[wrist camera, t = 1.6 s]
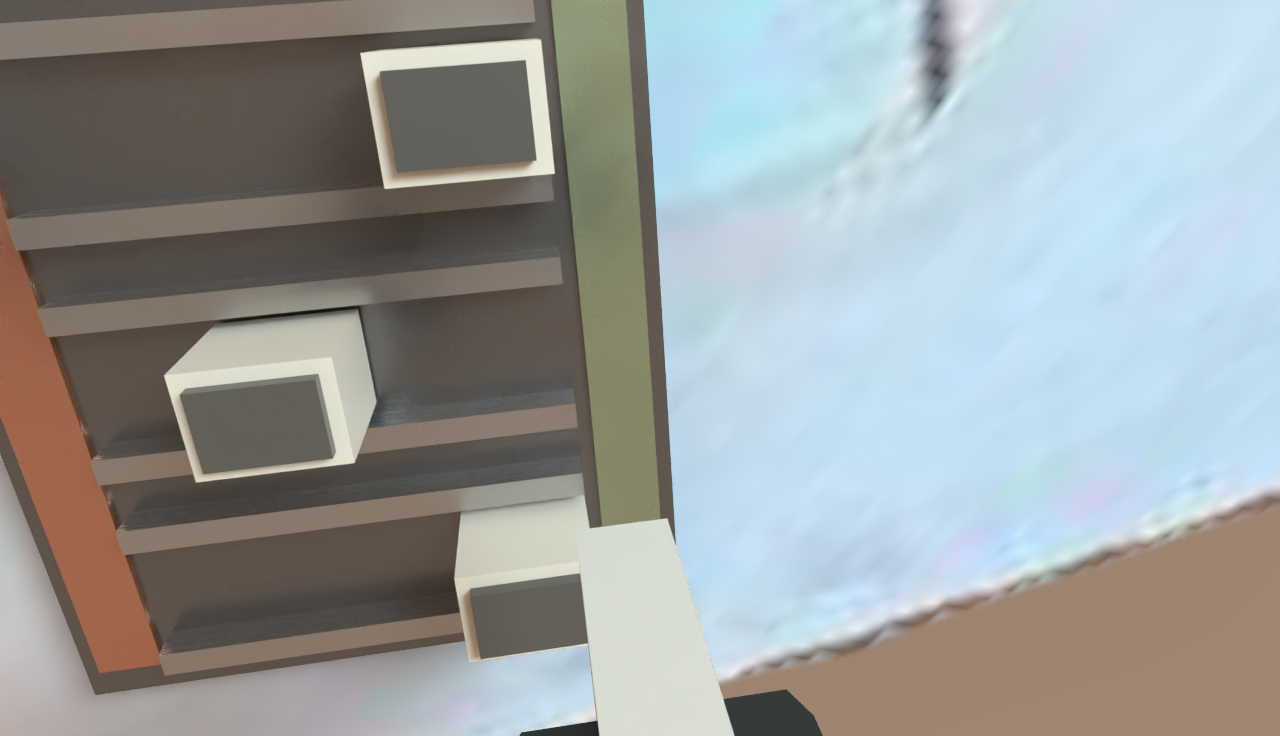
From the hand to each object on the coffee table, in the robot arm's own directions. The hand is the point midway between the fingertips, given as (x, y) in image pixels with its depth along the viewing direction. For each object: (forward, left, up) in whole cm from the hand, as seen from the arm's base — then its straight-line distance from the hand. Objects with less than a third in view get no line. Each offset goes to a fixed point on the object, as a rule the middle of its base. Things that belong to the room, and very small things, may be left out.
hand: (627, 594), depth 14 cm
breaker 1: (-8, 0, -13) cm, 16 cm away
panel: (-7, 0, -15) cm, 17 cm away
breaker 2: (-2, +7, -13) cm, 15 cm away
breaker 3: (-2, -7, -13) cm, 15 cm away
